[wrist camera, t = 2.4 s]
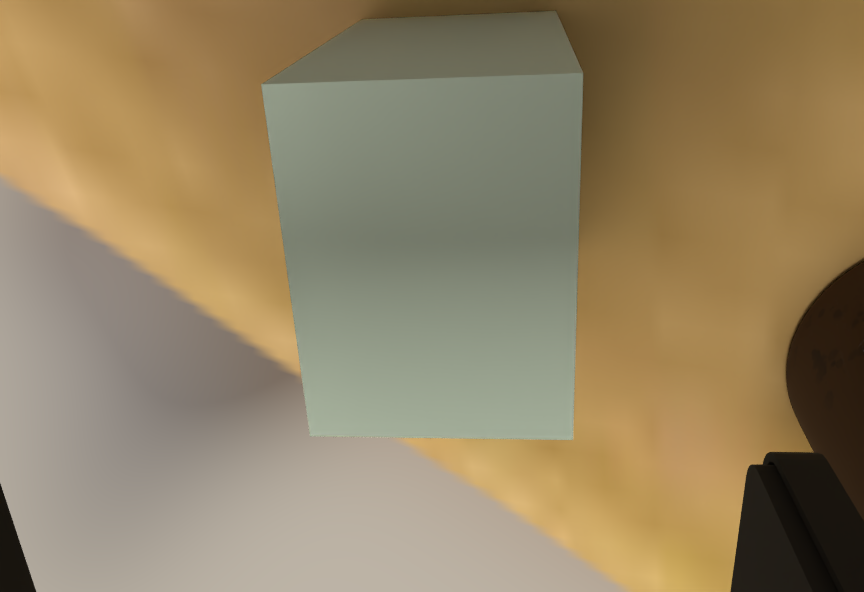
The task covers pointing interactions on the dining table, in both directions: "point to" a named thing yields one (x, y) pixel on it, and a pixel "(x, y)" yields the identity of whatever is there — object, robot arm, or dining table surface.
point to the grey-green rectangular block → (433, 225)
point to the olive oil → (833, 380)
